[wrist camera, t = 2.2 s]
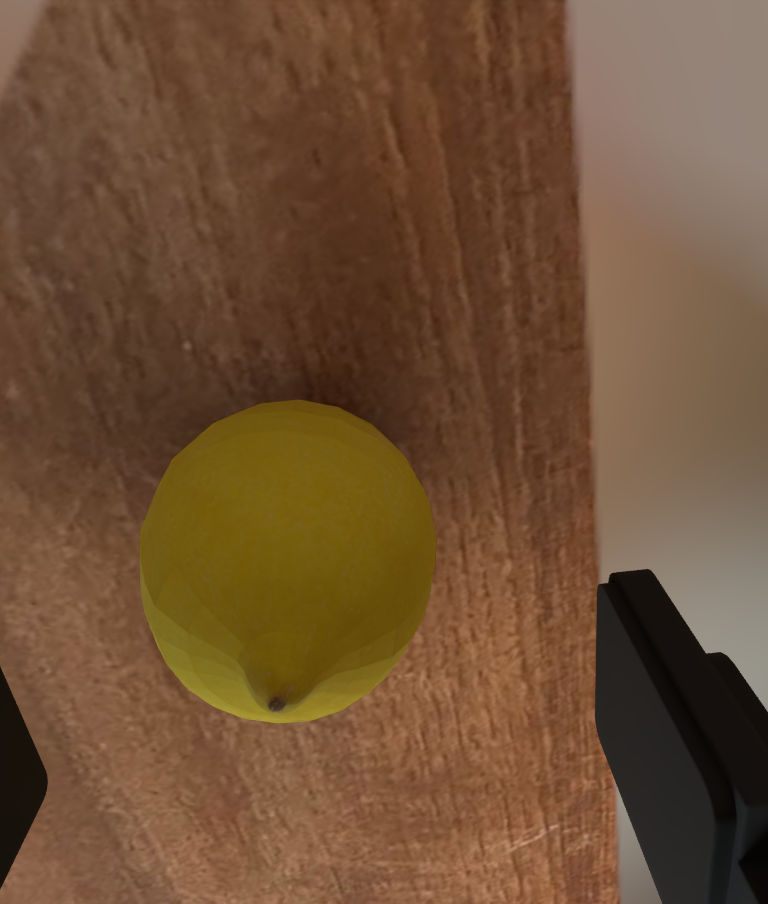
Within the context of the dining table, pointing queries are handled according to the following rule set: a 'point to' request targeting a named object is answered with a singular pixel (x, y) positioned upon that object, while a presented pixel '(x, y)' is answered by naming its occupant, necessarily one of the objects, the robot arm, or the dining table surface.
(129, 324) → the dining table surface
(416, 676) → the dining table surface
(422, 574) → the fruit
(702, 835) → the robot arm
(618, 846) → the dining table surface
